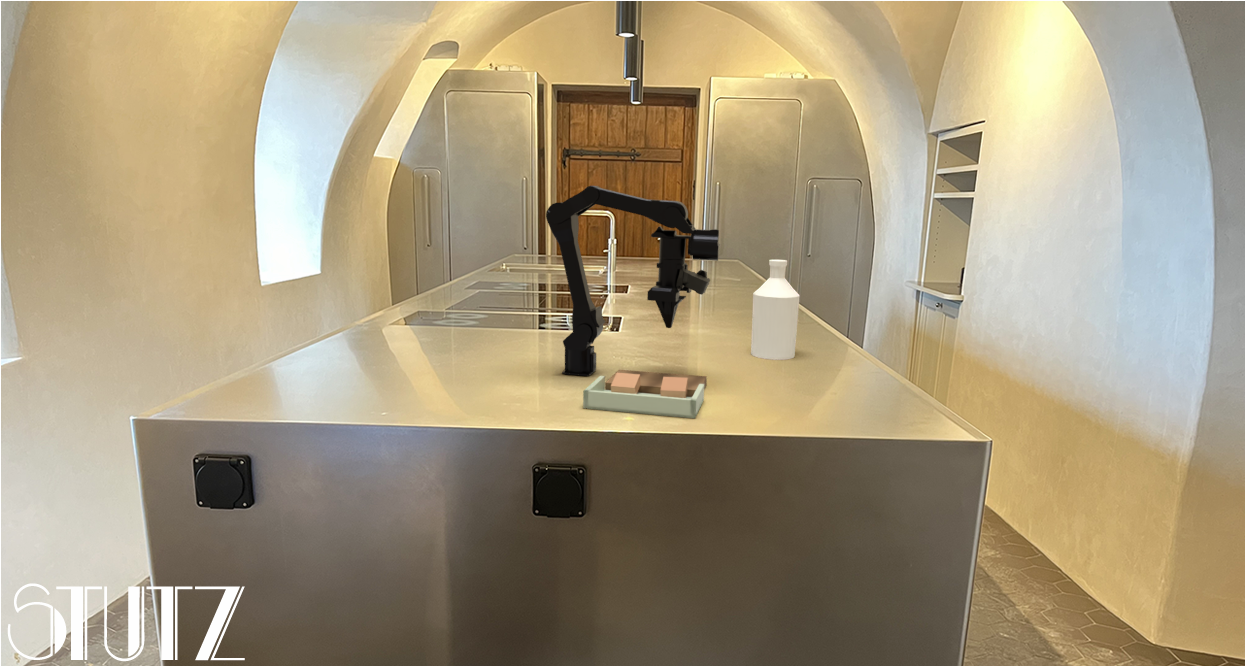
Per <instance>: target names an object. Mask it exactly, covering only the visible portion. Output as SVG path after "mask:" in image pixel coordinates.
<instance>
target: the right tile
mask: <svg viewBox="0 0 1250 666" xmlns="http://www.w3.org/2000/svg"><path fill="white" fill-rule="evenodd" d="M687 390H688V378H682V377H663V381H662V385H661V390H660V392H661V396H665V397H676V398H686V396H687Z"/></svg>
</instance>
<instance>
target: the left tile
mask: <svg viewBox="0 0 1250 666" xmlns="http://www.w3.org/2000/svg"><path fill="white" fill-rule="evenodd" d="M615 373H616V372H615ZM640 385H641V381H640V374H628V373H616V375H615V378H614V380H613V382H612V384H611V392H618V393H630V394H637V392H638V390H639V387H640Z"/></svg>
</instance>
